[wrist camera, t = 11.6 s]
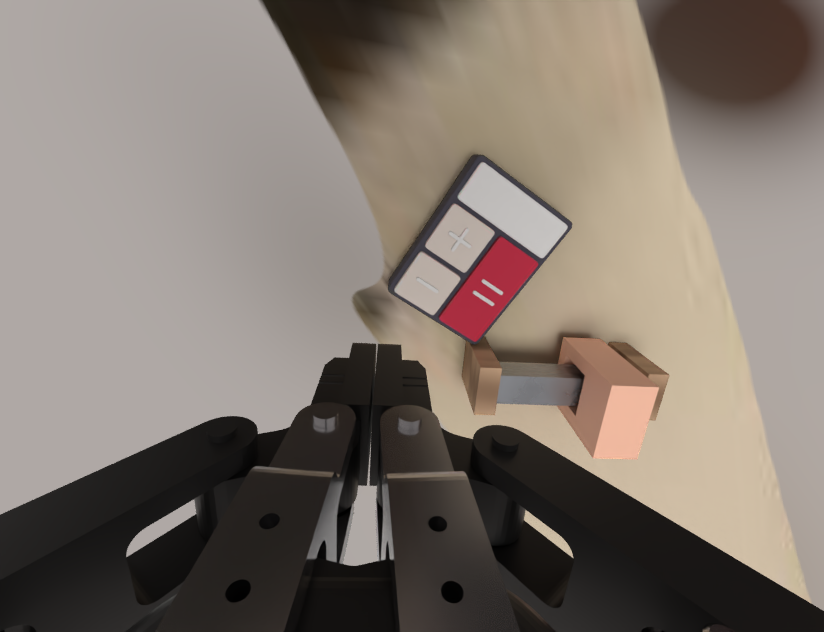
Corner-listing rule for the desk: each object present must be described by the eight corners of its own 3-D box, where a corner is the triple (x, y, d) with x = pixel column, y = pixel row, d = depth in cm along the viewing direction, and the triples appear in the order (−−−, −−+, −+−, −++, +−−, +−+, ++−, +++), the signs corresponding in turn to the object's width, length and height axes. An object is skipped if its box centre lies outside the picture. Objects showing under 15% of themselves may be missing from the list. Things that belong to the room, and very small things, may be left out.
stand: (466, 335, 44) (480, 367, 37) (626, 342, 45) (669, 375, 38) (461, 376, 46) (474, 414, 39) (616, 382, 47) (655, 420, 40)
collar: (563, 337, 42) (611, 385, 33) (600, 338, 43) (659, 387, 33) (550, 397, 45) (593, 458, 35) (585, 398, 45) (637, 459, 36)
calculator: (385, 293, 39) (482, 152, 34) (387, 280, 43) (473, 152, 38) (477, 350, 41) (578, 226, 36) (470, 332, 45) (561, 218, 40)
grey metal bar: (482, 358, 41) (489, 374, 38) (635, 365, 42) (654, 380, 39) (478, 387, 42) (484, 405, 39) (627, 393, 43) (645, 410, 40)
